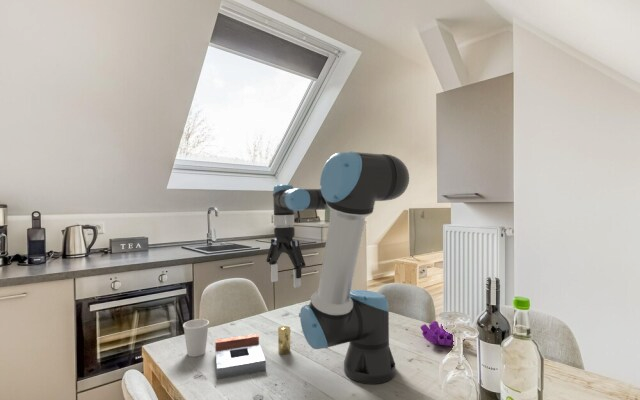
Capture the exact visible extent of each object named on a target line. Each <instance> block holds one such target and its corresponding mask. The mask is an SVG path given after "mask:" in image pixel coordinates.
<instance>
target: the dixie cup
mask: <svg viewBox="0 0 640 400" xmlns="http://www.w3.org/2000/svg"><path fill="white" fill-rule="evenodd" d="M209 324H210V321H209V320H208V319H205V318H196V319H195V318H194V319H191V320H188V321H186V322H184V323H183V324H182V327H183V331H184V339H185V345H186V352H187V353H186V354H187V356H189V357H199V356H203V355H204V354H205V353H206V349H207V341H208V332H209V331H208V330H209Z"/></svg>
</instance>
